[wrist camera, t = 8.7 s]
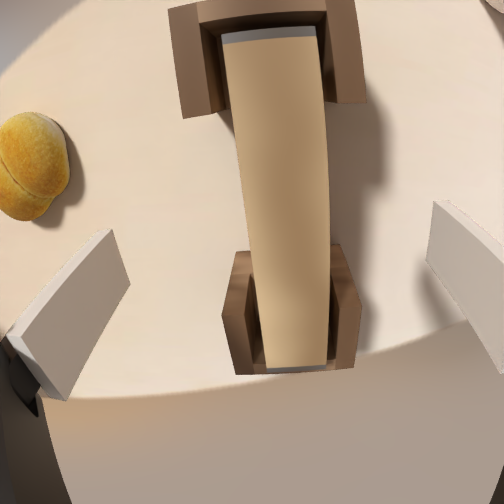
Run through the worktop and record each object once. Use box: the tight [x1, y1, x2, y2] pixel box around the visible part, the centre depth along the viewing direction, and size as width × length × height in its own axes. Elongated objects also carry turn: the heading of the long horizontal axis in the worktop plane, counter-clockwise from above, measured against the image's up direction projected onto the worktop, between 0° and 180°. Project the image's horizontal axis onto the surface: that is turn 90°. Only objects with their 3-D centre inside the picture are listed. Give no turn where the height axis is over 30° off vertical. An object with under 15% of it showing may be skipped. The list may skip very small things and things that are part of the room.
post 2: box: [222, 244, 362, 375], centre depth 20 cm, size 7×5×7 cm
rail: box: [221, 26, 330, 373], centre depth 15 cm, size 3×16×6 cm, turn 7°
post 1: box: [168, 0, 366, 119], centre depth 13 cm, size 7×5×7 cm
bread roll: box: [0, 112, 70, 221], centre depth 18 cm, size 8×9×4 cm
